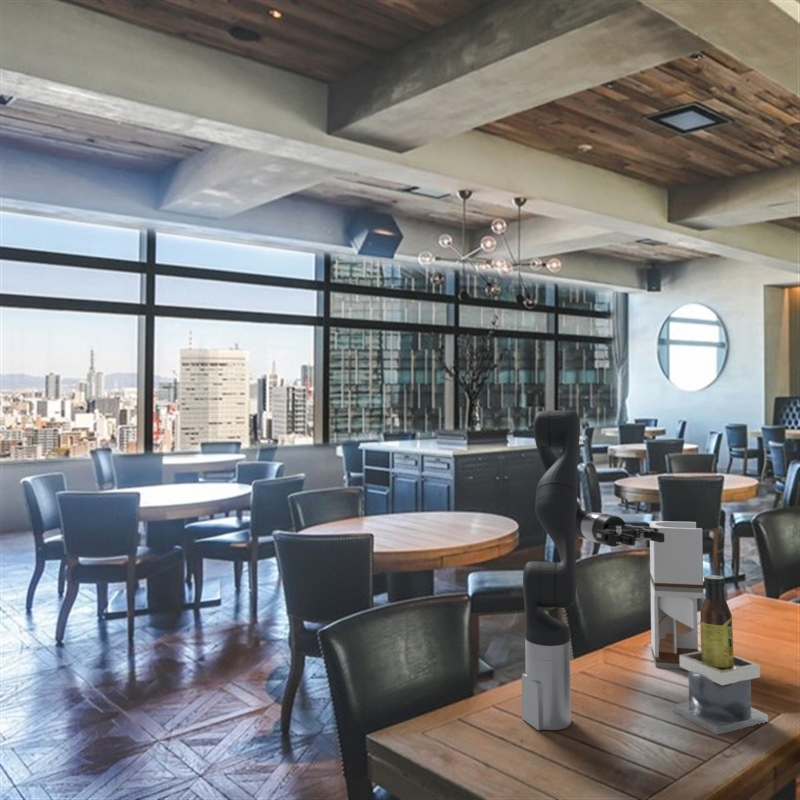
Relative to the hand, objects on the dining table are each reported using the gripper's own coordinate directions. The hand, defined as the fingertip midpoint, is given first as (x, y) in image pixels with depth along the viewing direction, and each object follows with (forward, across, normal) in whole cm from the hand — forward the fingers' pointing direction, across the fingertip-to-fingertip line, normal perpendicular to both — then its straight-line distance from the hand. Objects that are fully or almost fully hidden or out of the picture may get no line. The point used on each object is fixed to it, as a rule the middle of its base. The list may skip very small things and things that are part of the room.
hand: (648, 539), depth 166 cm
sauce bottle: (+16, +4, +26) cm, 30 cm away
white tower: (-13, +20, +35) cm, 42 cm away
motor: (+16, +4, +35) cm, 39 cm away
